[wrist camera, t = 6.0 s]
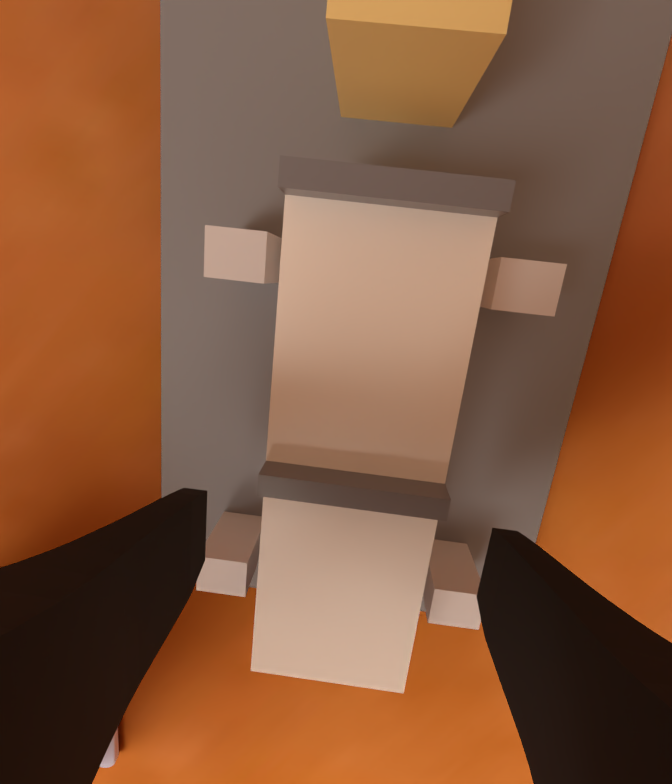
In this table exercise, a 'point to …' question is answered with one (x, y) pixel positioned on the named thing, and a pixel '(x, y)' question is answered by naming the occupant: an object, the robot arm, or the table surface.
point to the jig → (402, 150)
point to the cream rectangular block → (364, 408)
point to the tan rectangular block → (412, 56)
